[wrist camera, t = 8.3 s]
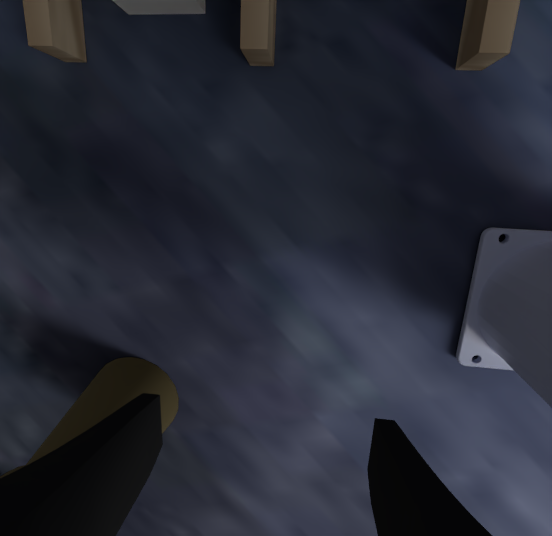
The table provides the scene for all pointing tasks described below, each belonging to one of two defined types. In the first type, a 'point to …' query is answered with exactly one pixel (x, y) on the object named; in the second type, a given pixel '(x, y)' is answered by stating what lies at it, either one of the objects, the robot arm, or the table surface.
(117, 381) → the cork
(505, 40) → the socket board
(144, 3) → the plug
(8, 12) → the table surface
